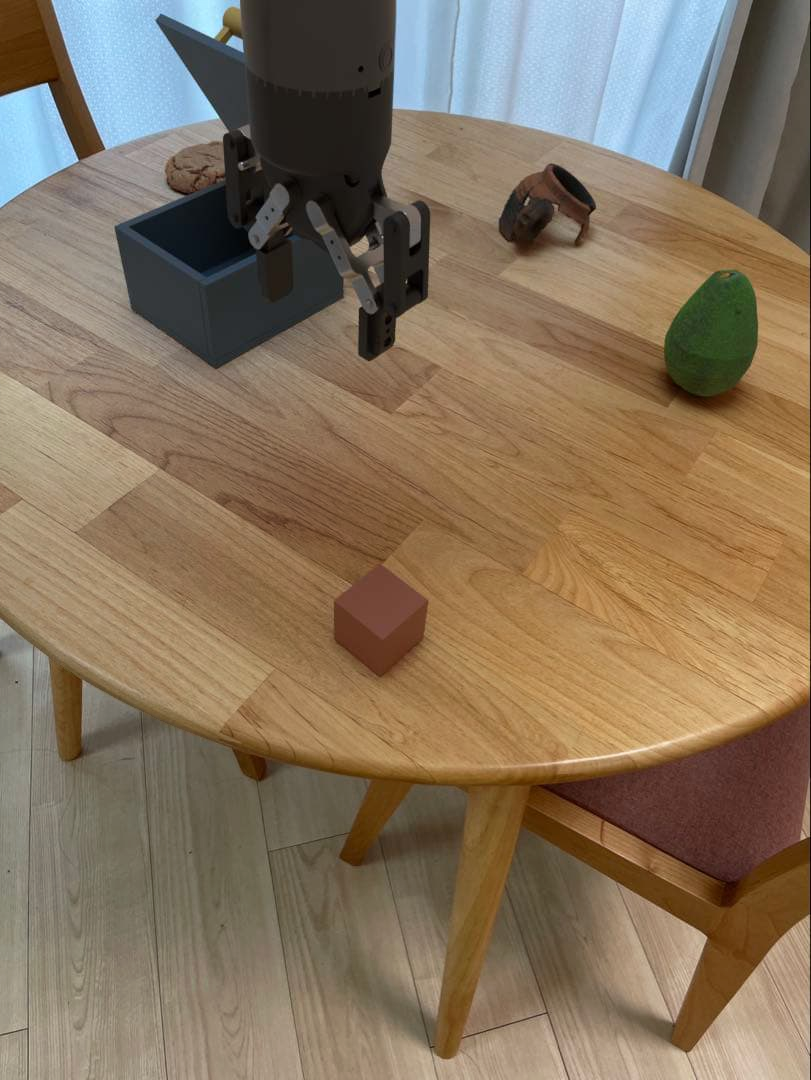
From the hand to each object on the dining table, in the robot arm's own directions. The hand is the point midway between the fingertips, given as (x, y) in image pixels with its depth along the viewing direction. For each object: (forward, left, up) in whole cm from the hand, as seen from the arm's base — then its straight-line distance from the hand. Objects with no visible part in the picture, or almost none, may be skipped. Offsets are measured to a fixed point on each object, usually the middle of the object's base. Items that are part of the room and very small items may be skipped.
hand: (325, 324), depth 56 cm
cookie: (-22, +51, -19) cm, 59 cm away
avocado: (+32, +22, -19) cm, 43 cm away
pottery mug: (+16, +46, -19) cm, 53 cm away
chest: (-13, +27, -19) cm, 36 cm away
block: (+6, -11, -19) cm, 22 cm away
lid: (-11, +30, -2) cm, 32 cm away
